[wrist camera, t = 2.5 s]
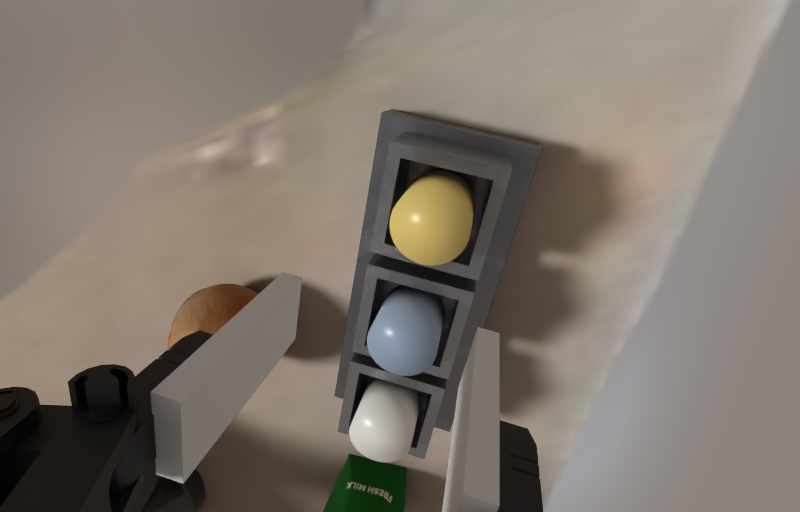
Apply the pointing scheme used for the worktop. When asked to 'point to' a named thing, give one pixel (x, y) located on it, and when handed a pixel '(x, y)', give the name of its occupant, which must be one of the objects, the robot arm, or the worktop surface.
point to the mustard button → (433, 218)
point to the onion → (209, 310)
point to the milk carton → (368, 487)
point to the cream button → (385, 421)
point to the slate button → (407, 331)
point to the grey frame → (453, 281)
